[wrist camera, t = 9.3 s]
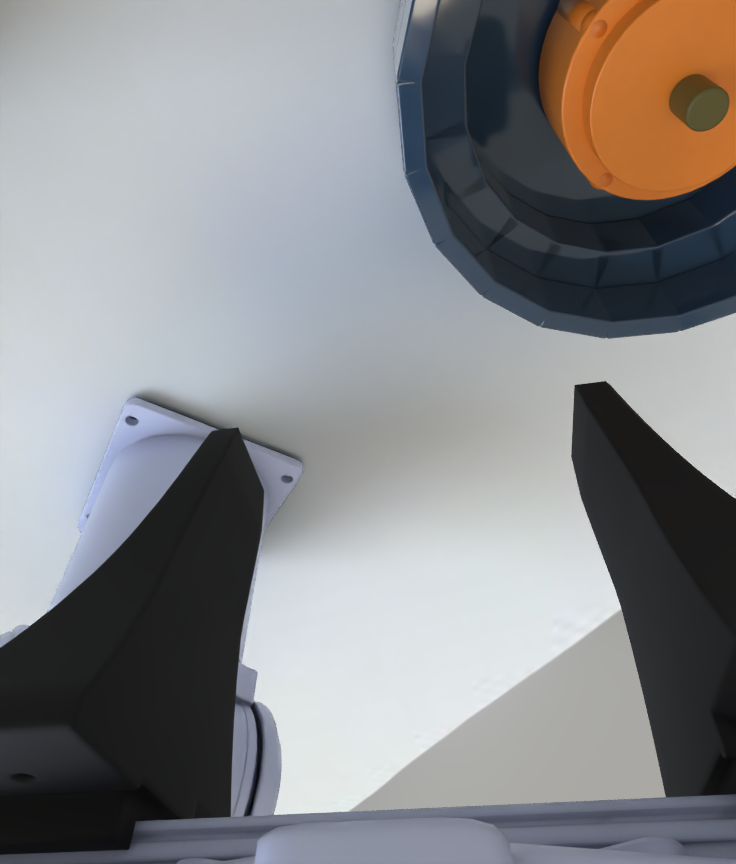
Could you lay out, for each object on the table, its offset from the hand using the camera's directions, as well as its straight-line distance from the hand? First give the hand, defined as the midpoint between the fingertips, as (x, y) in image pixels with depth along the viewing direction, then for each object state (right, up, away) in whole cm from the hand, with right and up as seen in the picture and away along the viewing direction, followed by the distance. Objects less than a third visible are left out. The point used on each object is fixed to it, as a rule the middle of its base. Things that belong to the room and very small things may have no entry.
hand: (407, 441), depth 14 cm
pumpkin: (+6, +11, +4) cm, 13 cm away
